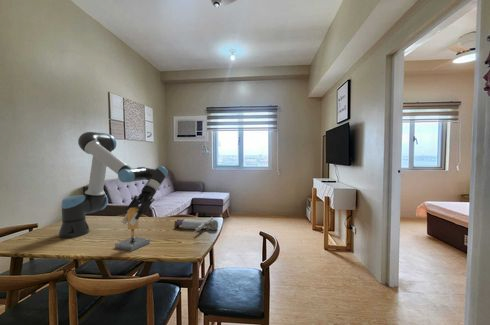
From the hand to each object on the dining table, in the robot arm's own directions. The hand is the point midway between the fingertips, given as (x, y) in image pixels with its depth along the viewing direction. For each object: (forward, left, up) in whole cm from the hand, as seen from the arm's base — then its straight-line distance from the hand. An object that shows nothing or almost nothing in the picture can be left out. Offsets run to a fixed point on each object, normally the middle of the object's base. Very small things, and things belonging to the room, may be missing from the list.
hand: (127, 223), depth 118 cm
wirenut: (0, +4, -3) cm, 5 cm away
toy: (+16, +40, -13) cm, 45 cm away
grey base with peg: (0, +4, -13) cm, 13 cm away
